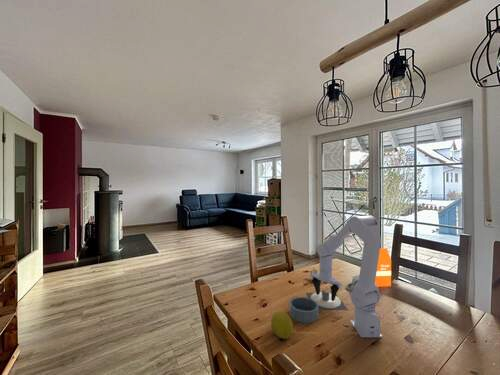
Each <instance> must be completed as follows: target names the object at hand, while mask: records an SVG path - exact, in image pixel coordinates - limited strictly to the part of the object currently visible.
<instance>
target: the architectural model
mask: <svg viewBox="0 0 500 375" xmlns="http://www.w3.org/2000/svg"><path fill="white" fill-rule="evenodd" d="M311 269H312V270H311V272H310V271H309V272H307V274H308V275H309V277H310V278H311V274H312V273H315V274H318V270H317V268H316V267H314V266H313V268H311ZM311 280H313V278H311Z"/></svg>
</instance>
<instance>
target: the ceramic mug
mask: <svg viewBox="0 0 500 375" xmlns="http://www.w3.org/2000/svg"><path fill="white" fill-rule="evenodd" d="M359 275H360V274H359ZM359 275H354V276H353V277H352V281H351V282H350V283H347V284H346V285H345V288H346V290H348V291H351V292H352V291H353V288H354V285H355V284H356V283H357V282H358V281H359Z"/></svg>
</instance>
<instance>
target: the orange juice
mask: <svg viewBox="0 0 500 375" xmlns="http://www.w3.org/2000/svg"><path fill="white" fill-rule="evenodd" d="M389 253H390V252H389V251H388V249H387V248H381V247H380V253H379V260H378V266H377V273H376V279H375V284H376V285H377V286H378V287H379V288H381V287H391V286H392V258H391V256H390V254H389Z"/></svg>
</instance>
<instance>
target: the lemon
mask: <svg viewBox="0 0 500 375" xmlns="http://www.w3.org/2000/svg"><path fill="white" fill-rule="evenodd" d="M270 323H271V330H272V331H273V333H274V334H275V335H276V336H277V338H280V339H283V340H286V339H288V338H290V337H291V335H292V334H293V329H294V323H293V320H292V318H291V316H290V315H288V313H286V312H284V311H282V310H279V311H275V312H274V313H273V315H272V318H271V322H270Z"/></svg>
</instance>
